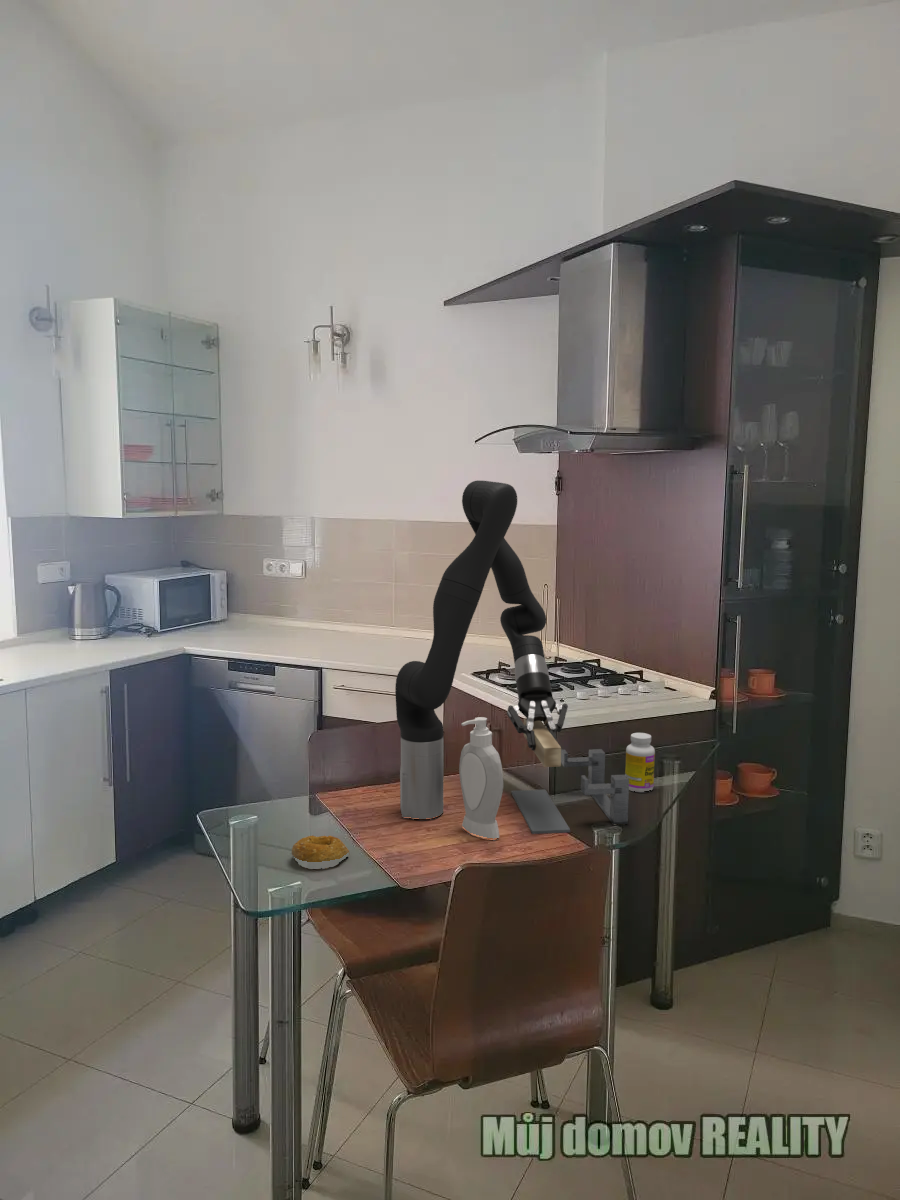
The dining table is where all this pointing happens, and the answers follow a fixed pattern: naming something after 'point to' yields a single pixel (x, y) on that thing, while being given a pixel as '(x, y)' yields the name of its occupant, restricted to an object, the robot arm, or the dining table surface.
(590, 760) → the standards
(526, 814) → the mat
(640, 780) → the supplement bottle
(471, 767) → the soap bottle
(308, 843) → the bagel
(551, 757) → the rail
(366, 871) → the dining table surface
